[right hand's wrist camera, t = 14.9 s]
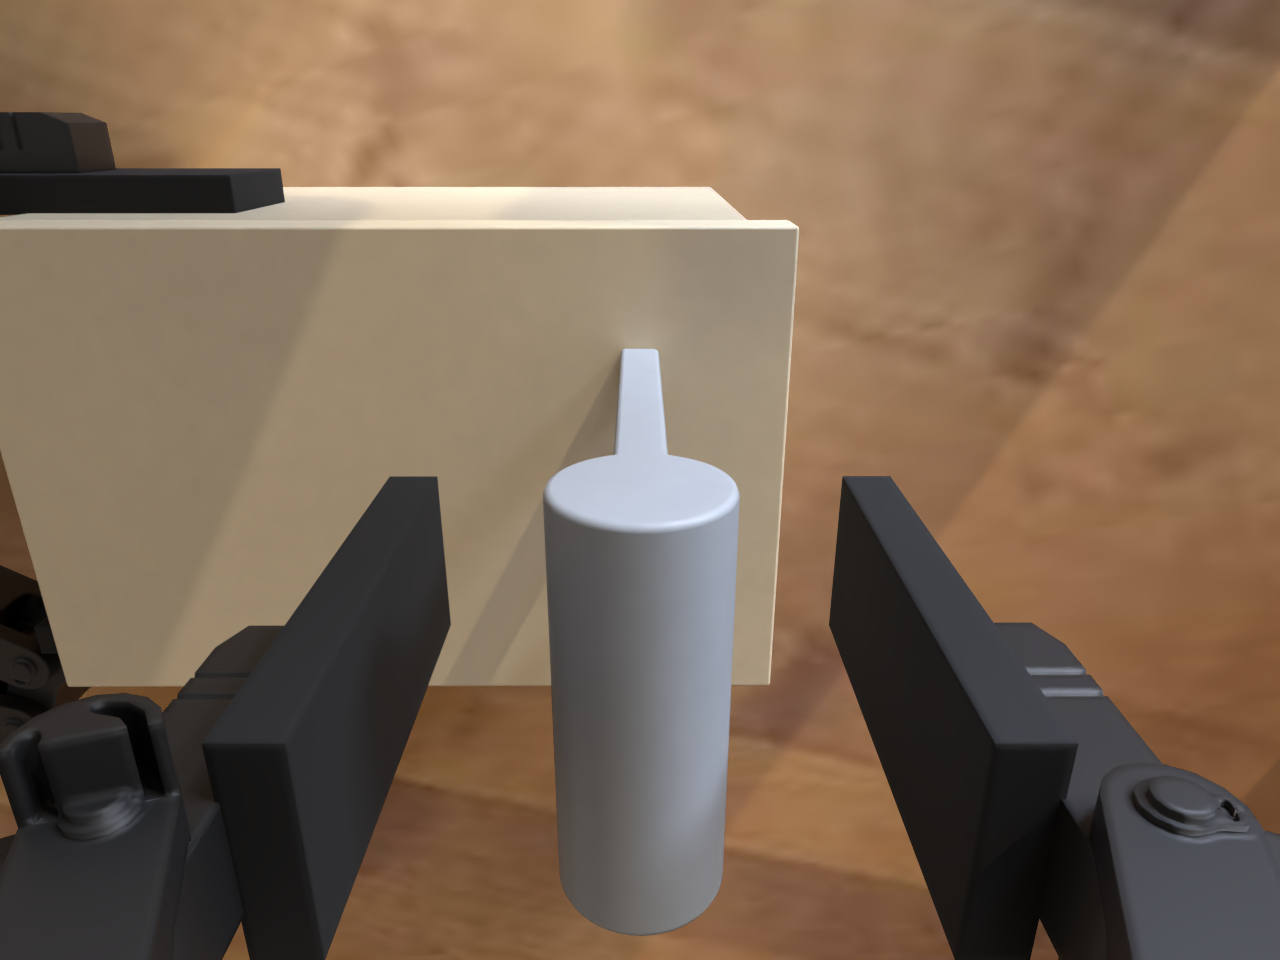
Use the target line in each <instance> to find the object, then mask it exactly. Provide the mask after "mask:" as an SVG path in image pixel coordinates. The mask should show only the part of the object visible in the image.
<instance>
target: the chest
mask: <svg viewBox="0 0 1280 960" xmlns="http://www.w3.org/2000/svg"><path fill="white" fill-rule="evenodd" d="M283 191H284V198H285V202H284V203H279V204H275V205H270V206H266V207H261V208H257V209H253V210H248V211H244V212H239V213H27V214H20V215H13V216H7V217H0V221H233V220H746V219H745V218H744V217H743V216H742V215H741V214H740V213H738V212H737V211H736V210H735V209H734V208H733V207H732V206H731V205H730V204H728V203H727V202H726V201H725V200H724V199H723V198H722V197H721V196H720V195H719V194H717V193H716V192H715V191H714V190H713V189H711V188H710V187H283Z"/></svg>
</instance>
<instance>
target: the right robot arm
mask: <svg viewBox="0 0 1280 960" xmlns="http://www.w3.org/2000/svg"><path fill="white" fill-rule="evenodd" d="M450 626H451V620H450V609H449V598H448V587H447V576H446V565H445V554H444V544H443V533H442V522H441V511H440V500H439V489H438V478H437V476H390V477H389V478H388V480H387V481H386V483H385V484H384V485H383V487H382V488H381V490H380V491H379V492H378V494H377V495H376V497H375V498H374V500H373V501H372V502H371V504H370V505H369V507H368V508H367V509H366V511H365V512H364V514H363V515H362V517H361V518H360V519H359V521H358V522H357V524H356V525H355V526H354V528H353V529H352V531H351V532H350V534H349V535H348V536H347V538H346V539H345V541H344V542H343V544H342V545H341V546H340V548H339V549H338V551H337V552H336V553H335V555H334V556H333V558H332V559H331V561H330V562H329V563H328V565H327V566H326V568H325V569H324V570H323V572H322V573H321V575H320V576H319V578H318V579H317V580H316V582H315V583H314V585H313V586H312V587H311V589H310V590H309V592H308V593H307V595H306V596H305V597H304V599H303V600H302V602H301V603H300V604H299V606H298V607H297V609H296V610H295V612H294V613H293V614H292V616H291V617H290V619H289V620H288V621H287V623H286V624H285V626H247V627H246V628H244V629H243V630H241V631H240V632H238V633H237V634H235V635H234V636H232V637H231V638H229V639H228V640H226V641H224V642H223V643H221V644H220V645H218V646H217V647H215V648H214V650H213V651H212V652H211V653H210V655H209V656H208V657H207V658H206V660H205V661H204V662H203V663H202V665H201V666H200V667H199V668H198V669H197V671H196V672H195V677H194V678H190V679H189V681H188V682H187V683H186V684H185V686H184V687H183V688H182V689H181V691H180V692H179V693H178V698H177V699H173V700H172V702H171V703H170V704H169V705H168V707H167V708H166V709H165V710H164V712H163V713H162V710H161V707H160V706H158V705H157V704H156V703H154V702H153V701H152V700H150V699H149V698H148V697H143V696H138V695H132V694H127V693H120V694H106V695H95V696H91V697H87V698H84V699H80V700H76V701H72V702H68V703H65V704H62V705H60V706H58V707H56V708H53V709H51V710H49V711H47V712H44V713H42V714H40V715H38V716H35V717H33V718H32V719H30V720H29V721H28V722H26V723H25V724H23V725H22V726H20V727H19V728H17V729H16V730H15V731H13V732H12V733H10V734H9V735H8V736H7V737H6V739H5V740H4V741H3V742H2V743H1V745H0V775H1V778H2V781H3V784H4V787H5V790H6V793H7V796H8V799H9V802H10V805H11V808H12V811H13V814H14V817H15V820H16V823H17V826H18V830H17V832H16V834H15V835H11V836H8V837H4V838H1V839H0V960H222V959H223V957H224V955H225V953H226V951H227V949H228V947H229V945H230V943H231V941H232V939H233V937H234V935H235V933H236V931H237V929H238V927H239V925H240V923H241V922H242V926H243V930H244V935H245V939H246V944H247V948H248V953H249V957H250V960H325V958H326V956H327V953H328V950H329V948H330V945H331V942H332V940H333V937H334V934H335V932H336V929H337V926H338V924H339V921H340V919H341V916H342V913H343V911H344V908H345V905H346V903H347V900H348V897H349V895H350V892H351V889H352V887H353V884H354V881H355V879H356V876H357V873H358V871H359V868H360V865H361V863H362V860H363V857H364V855H365V852H366V849H367V847H368V844H369V841H370V839H371V836H372V833H373V831H374V828H375V825H376V823H377V820H378V817H379V815H380V812H381V809H382V807H383V804H384V801H385V799H386V796H387V793H388V791H389V788H390V786H391V783H392V780H393V778H394V775H395V772H396V770H397V767H398V764H399V762H400V759H401V756H402V754H403V751H404V748H405V746H406V743H407V740H408V738H409V735H410V732H411V730H412V727H413V724H414V722H415V719H416V716H417V714H418V711H419V708H420V706H421V703H422V700H423V698H424V695H425V692H426V690H427V687H428V684H429V682H430V679H431V676H432V674H433V671H434V668H435V666H436V663H437V661H438V658H439V655H440V653H441V650H442V647H443V645H444V642H445V639H446V637H447V634H448V631H449V629H450ZM829 626H830V629H831V631H832V634H833V637H834V639H835V642H836V645H837V647H838V650H839V652H840V655H841V658H842V660H843V663H844V666H845V668H846V671H847V674H848V676H849V679H850V682H851V684H852V687H853V690H854V692H855V695H856V698H857V700H858V703H859V706H860V708H861V711H862V714H863V716H864V719H865V722H866V724H867V727H868V730H869V732H870V735H871V738H872V740H873V743H874V746H875V748H876V751H877V754H878V756H879V759H880V762H881V764H882V767H883V770H884V772H885V775H886V777H887V780H888V783H889V785H890V788H891V791H892V793H893V796H894V799H895V801H896V804H897V807H898V809H899V812H900V815H901V817H902V820H903V823H904V825H905V828H906V831H907V833H908V836H909V839H910V841H911V844H912V847H913V849H914V852H915V855H916V857H917V860H918V863H919V865H920V868H921V871H922V873H923V876H924V879H925V881H926V884H927V887H928V889H929V892H930V895H931V897H932V900H933V903H934V905H935V908H936V910H937V913H938V916H939V918H940V921H941V924H942V926H943V929H944V932H945V934H946V937H947V940H948V942H949V945H950V948H951V950H952V953H953V956H954V958H955V960H1030V957H1031V953H1032V948H1033V944H1034V939H1035V935H1036V930H1037V926H1038V922H1039V918H1040V920H1041V922H1042V924H1043V926H1044V928H1045V930H1046V932H1047V934H1048V936H1049V938H1050V940H1051V942H1052V944H1053V946H1054V948H1055V950H1056V952H1057V954H1058V956H1059V958H1058V960H1280V835H1279V834H1275V833H1272V832H1268V831H1265V830H1263V828H1262V826H1261V825H1260V824H1259V822H1258V821H1257V819H1256V818H1255V816H1254V815H1253V814H1252V812H1251V811H1250V809H1249V808H1248V807H1247V806H1246V805H1245V804H1244V803H1242V802H1241V801H1240V800H1239V799H1237V798H1236V797H1235V796H1234V795H1232V794H1231V793H1230V792H1229V791H1227V790H1226V789H1225V788H1223V787H1221V786H1219V785H1217V784H1215V783H1213V782H1211V781H1209V780H1207V779H1205V778H1203V777H1201V776H1199V775H1197V774H1195V773H1192V772H1189V771H1185V770H1182V769H1179V768H1175V767H1172V766H1168V765H1165V764H1162V763H1161V762H1160V760H1159V759H1158V758H1157V757H1156V755H1155V754H1154V753H1153V752H1152V751H1151V749H1150V748H1149V747H1148V746H1147V744H1146V743H1145V742H1144V741H1143V739H1142V738H1141V737H1140V736H1139V735H1138V733H1137V732H1136V731H1135V730H1134V728H1133V727H1132V726H1131V725H1130V723H1129V722H1128V721H1127V720H1126V719H1125V717H1124V716H1123V715H1122V714H1121V712H1120V711H1119V710H1118V709H1117V708H1116V706H1115V705H1114V704H1113V703H1112V701H1111V700H1110V699H1109V698H1108V696H1103V690H1102V689H1101V688H1100V687H1099V685H1098V684H1097V683H1096V682H1095V680H1094V679H1093V678H1092V677H1091V676H1090V675H1086V669H1085V668H1084V667H1083V666H1082V664H1081V663H1080V662H1079V661H1078V660H1077V658H1076V657H1075V656H1074V655H1073V653H1072V652H1071V651H1070V650H1069V649H1068V647H1067V646H1066V645H1065V644H1064V643H1062V642H1061V641H1059V640H1057V639H1056V638H1054V637H1053V636H1051V635H1050V634H1048V633H1047V632H1045V631H1044V630H1042V629H1040V628H1039V627H1037V626H1036V625H1034V624H1033V623H993V621H992V620H991V619H990V617H989V616H988V614H987V613H986V612H985V610H984V609H983V607H982V606H981V604H980V603H979V602H978V600H977V599H976V597H975V596H974V595H973V593H972V592H971V590H970V589H969V587H968V586H967V585H966V583H965V582H964V580H963V579H962V577H961V576H960V575H959V573H958V572H957V570H956V569H955V568H954V566H953V565H952V563H951V562H950V560H949V559H948V558H947V556H946V555H945V553H944V552H943V551H942V549H941V548H940V546H939V545H938V543H937V542H936V541H935V539H934V538H933V536H932V535H931V534H930V532H929V531H928V529H927V528H926V526H925V525H924V524H923V522H922V521H921V519H920V518H919V517H918V515H917V514H916V512H915V511H914V509H913V508H912V507H911V505H910V504H909V502H908V501H907V500H906V498H905V497H904V495H903V494H902V492H901V491H900V490H899V488H898V487H897V485H896V484H895V483H894V481H893V480H892V478H891V477H890V476H843V478H842V489H841V500H840V511H839V522H838V533H837V544H836V555H835V566H834V576H833V587H832V598H831V609H830V620H829Z"/></svg>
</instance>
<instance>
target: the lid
mask: <svg viewBox="0 0 1280 960" xmlns="http://www.w3.org/2000/svg"><path fill="white" fill-rule="evenodd" d="M798 238H799V228H798V227H797V226H796V225H794V224H793V223H791V222H790V221H788V220H233V221H0V452H1V455H2V459H3V462H4V466H5V469H6V473H7V476H8V480H9V483H10V487H11V490H12V494H13V497H14V501H15V504H16V508H17V511H18V515H19V518H20V522H21V525H22V529H23V532H24V536H25V539H26V543H27V546H28V550H29V553H30V557H31V560H32V564H33V567H34V571H35V574H36V577H37V581H38V584H39V588H40V591H41V595H42V598H43V602H44V605H45V609H46V612H47V616H48V619H49V623H50V626H51V630H52V633H53V637H54V640H55V644H56V647H57V651H58V654H59V658H60V661H61V665H62V668H63V672H64V675H65V679H66V682H67V685H68V686H69V687H184V686H185V684H186V683H187V682H188V681H189V679H190V678H194V677H195V672H196V671H197V669H198V668H199V667H200V666H201V665H202V663H203V662H204V661H205V660H206V658H207V657H208V656H209V655H210V653H211V652H212V651H213V650H214V648H215V647H217V646H218V645H220V644H221V643H223V642H224V641H226V640H228V639H229V638H231V637H232V636H234V635H235V634H237V633H238V632H240V631H241V630H243V629H244V628H246V627H247V626H285V624H286V623H287V621H288V620H289V619H290V617H291V616H292V614H293V613H294V612H295V610H296V609H297V607H298V606H299V604H300V603H301V602H302V600H303V599H304V597H305V596H306V595H307V593H308V592H309V590H310V589H311V587H312V586H313V585H314V583H315V582H316V580H317V579H318V578H319V576H320V575H321V573H322V572H323V570H324V569H325V568H326V566H327V565H328V563H329V562H330V561H331V559H332V558H333V556H334V555H335V553H336V552H337V551H338V549H339V548H340V546H341V545H342V544H343V542H344V541H345V539H346V538H347V536H348V535H349V534H350V532H351V531H352V529H353V528H354V526H355V525H356V524H357V522H358V521H359V519H360V518H361V517H362V515H363V514H364V512H365V511H366V509H367V508H368V507H369V505H370V504H371V502H372V501H373V500H374V498H375V497H376V495H377V494H378V492H379V491H380V490H381V488H382V487H383V485H384V484H385V483H386V481H387V480H388V478H389V477H390V476H437V478H438V489H439V500H440V511H441V522H442V533H443V544H444V554H445V565H446V576H447V587H448V598H449V609H450V620H451V626H450V629H449V631H448V634H447V637H446V639H445V642H444V645H443V647H442V650H441V653H440V655H439V658H438V661H437V663H436V666H435V668H434V671H433V674H432V676H431V679H430V682H429V684H428V686H551V692H552V715H553V737H554V760H555V782H556V805H557V827H558V850H559V872H560V879H561V884H562V887H563V890H564V892H565V894H566V895H567V897H568V899H569V900H570V902H571V903H572V904H573V906H574V907H575V908H576V909H577V910H578V911H579V912H580V913H581V914H582V915H583V916H584V917H585V918H587V919H588V920H589V921H591V922H593V923H594V924H596V925H598V926H600V927H602V928H605V929H607V930H610V931H613V932H617V933H621V934H627V935H638V936H644V935H656V934H662V933H666V932H669V931H673V930H676V929H678V928H680V927H683V926H685V925H686V924H688V923H690V922H692V921H693V920H694V919H696V918H697V917H698V916H700V915H701V914H702V913H703V912H704V911H705V910H706V909H707V908H708V906H709V905H710V904H711V902H712V901H713V899H714V898H715V896H716V894H717V892H718V890H719V888H720V884H721V881H722V874H723V856H724V834H725V812H726V790H727V768H728V746H729V724H730V701H731V686H767V685H769V683H770V672H771V657H772V641H773V626H774V610H775V595H776V579H777V564H778V548H779V533H780V517H781V502H782V486H783V471H784V455H785V440H786V424H787V409H788V393H789V378H790V362H791V347H792V331H793V316H794V300H795V285H796V269H797V254H798Z"/></svg>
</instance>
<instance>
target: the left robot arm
mask: <svg viewBox="0 0 1280 960" xmlns="http://www.w3.org/2000/svg"><path fill="white" fill-rule="evenodd" d="M284 202H285V198H284V191H283V184H282V177H281V170H280V169H116V167H115V163H114V158H113V153H112V148H111V144H110V139H109V134H108V129H107V124H106V123H105V122H102V121H100V120H97V119H95V118H92V117H90V116H87V115H85V114H82V113H45V112H0V215H20V214H27V213H239V212H244V211H248V210H253V209H257V208H261V207H266V206H270V205H275V204H279V203H284ZM25 634H26V635H25ZM89 688H90V687H69V686H68V685H67V682H66V679H65V675H64V672H63V668H62V665H61V661H60V658H59V654H58V651H57V647H56V644H55V640H54V637H53V633H52V630H51V626H50V623H49V619H48V616H47V612H46V609H45V605H44V602H43V598H42V595H41V591H40V588H39V584H38V581H36V580H33V579H31V578H28V577H26V576H24V575H21V574H19V573H17V572H14V571H12V570H10V569H7V568H5V567H3V566H0V744H1V743H2V742H3V741H4V740H5V739H6V737H7V736H8V735H9V734H10V733H12V732H13V731H15V730H16V729H17V728H19V727H20V726H22V725H23V724H25V723H26V722H28V721H29V720H30V719H32V718H33V717H35V716H38V715H40V714H42V713H44V712H47V711H49V710H51V709H53V708H56V707H58V706H60V705H62V704H65V703H68V702H72V701H76V700H78V699H79V698H80V697H81V696H82V695H83V694H84V693H85V692H86V691H87V690H88V689H89Z"/></svg>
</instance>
